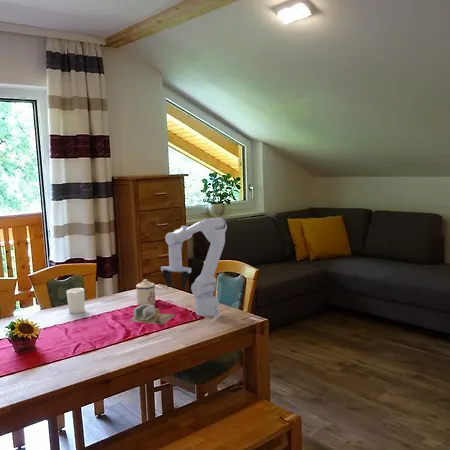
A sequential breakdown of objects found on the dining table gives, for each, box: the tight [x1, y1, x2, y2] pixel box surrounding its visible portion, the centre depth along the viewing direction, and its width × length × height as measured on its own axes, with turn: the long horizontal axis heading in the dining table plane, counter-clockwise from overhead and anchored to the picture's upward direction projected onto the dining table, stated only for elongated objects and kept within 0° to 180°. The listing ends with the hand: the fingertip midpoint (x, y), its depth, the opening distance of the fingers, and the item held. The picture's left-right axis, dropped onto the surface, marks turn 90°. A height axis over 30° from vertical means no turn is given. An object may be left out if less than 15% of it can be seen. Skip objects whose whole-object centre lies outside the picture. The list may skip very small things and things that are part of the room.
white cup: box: [66, 287, 86, 314], centre depth 226 cm, size 8×8×10 cm
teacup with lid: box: [135, 279, 156, 306], centre depth 237 cm, size 12×9×12 cm
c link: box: [133, 304, 156, 319], centre depth 214 cm, size 8×6×4 cm
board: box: [128, 308, 176, 325], centre depth 211 cm, size 16×13×6 cm
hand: (176, 287), depth 226 cm, fingers open, 7 cm apart
